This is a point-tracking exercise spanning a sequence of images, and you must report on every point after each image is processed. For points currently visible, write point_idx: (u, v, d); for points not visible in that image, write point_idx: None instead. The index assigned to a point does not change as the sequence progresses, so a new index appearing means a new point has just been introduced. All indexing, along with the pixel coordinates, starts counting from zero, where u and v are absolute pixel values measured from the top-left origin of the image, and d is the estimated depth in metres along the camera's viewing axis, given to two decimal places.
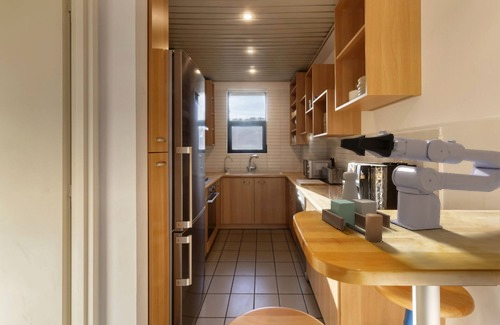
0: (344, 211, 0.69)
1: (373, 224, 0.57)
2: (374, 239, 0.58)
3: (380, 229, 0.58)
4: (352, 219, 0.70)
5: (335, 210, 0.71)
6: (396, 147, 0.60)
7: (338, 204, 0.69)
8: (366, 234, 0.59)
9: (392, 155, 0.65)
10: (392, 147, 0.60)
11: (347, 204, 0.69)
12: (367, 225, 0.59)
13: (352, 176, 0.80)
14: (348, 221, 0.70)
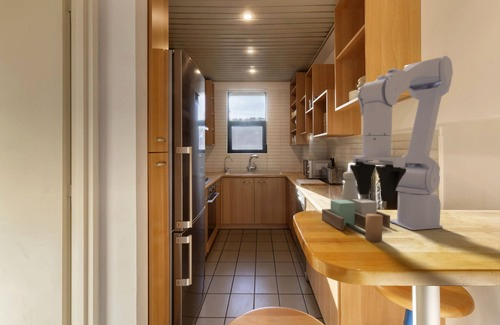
0: (344, 211, 0.69)
1: (373, 224, 0.57)
2: (374, 239, 0.58)
3: (380, 229, 0.58)
4: (352, 219, 0.70)
5: (335, 210, 0.71)
6: (401, 167, 0.51)
7: (338, 204, 0.69)
8: (366, 234, 0.59)
9: (390, 148, 0.57)
10: (398, 168, 0.52)
11: (347, 204, 0.69)
12: (367, 225, 0.59)
13: (352, 176, 0.80)
14: (348, 221, 0.70)
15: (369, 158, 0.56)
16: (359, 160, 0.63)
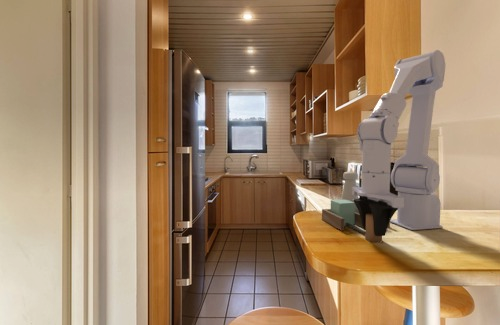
0: (344, 211, 0.69)
1: (373, 224, 0.57)
2: (374, 239, 0.58)
3: None
4: (352, 219, 0.70)
5: (335, 210, 0.71)
6: None
7: (338, 204, 0.69)
8: (366, 234, 0.59)
9: (389, 185, 0.57)
10: (390, 205, 0.55)
11: (347, 204, 0.69)
12: (367, 225, 0.59)
13: (353, 176, 0.80)
14: (348, 221, 0.70)
15: (368, 195, 0.57)
16: None
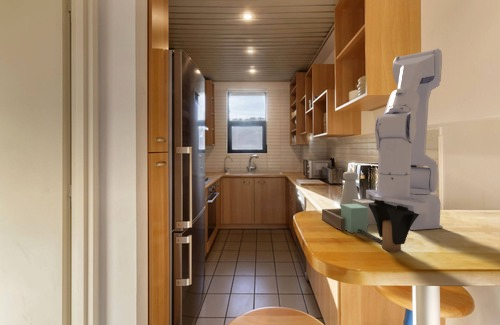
0: (356, 216, 0.64)
1: (391, 232, 0.52)
2: (392, 248, 0.52)
3: None
4: (365, 225, 0.65)
5: (347, 215, 0.65)
6: None
7: (350, 209, 0.64)
8: (383, 243, 0.54)
9: (409, 188, 0.52)
10: (411, 211, 0.49)
11: (359, 209, 0.64)
12: (384, 233, 0.53)
13: (352, 176, 0.80)
14: (360, 227, 0.64)
15: (386, 199, 0.51)
16: None
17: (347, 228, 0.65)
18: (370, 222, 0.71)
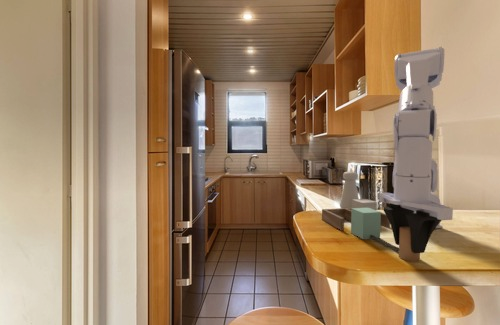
0: (368, 222, 0.59)
1: (410, 239, 0.48)
2: (411, 258, 0.48)
3: None
4: (377, 231, 0.60)
5: (358, 220, 0.61)
6: None
7: (361, 213, 0.60)
8: (400, 251, 0.49)
9: None
10: (433, 217, 0.45)
11: (372, 213, 0.60)
12: (402, 241, 0.49)
13: (352, 176, 0.80)
14: (373, 233, 0.60)
15: (404, 203, 0.47)
16: (388, 200, 0.54)
17: (358, 234, 0.61)
18: None
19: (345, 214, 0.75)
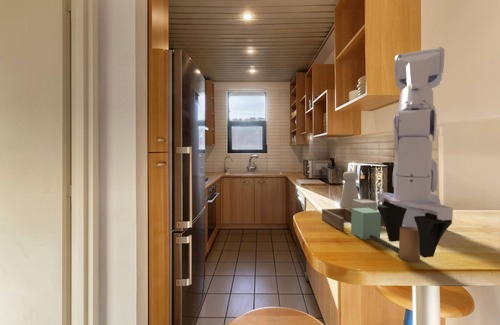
0: (368, 222, 0.59)
1: (410, 239, 0.48)
2: (411, 258, 0.48)
3: (418, 246, 0.48)
4: (378, 231, 0.60)
5: (358, 220, 0.61)
6: None
7: (362, 214, 0.59)
8: (400, 251, 0.49)
9: None
10: (443, 220, 0.43)
11: (372, 214, 0.59)
12: (402, 241, 0.49)
13: (352, 176, 0.80)
14: (373, 233, 0.60)
15: (404, 203, 0.47)
16: (388, 200, 0.54)
17: (358, 234, 0.61)
18: None
19: (345, 214, 0.75)
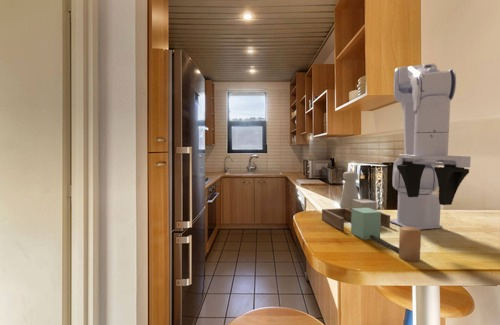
0: (368, 222, 0.59)
1: (410, 239, 0.48)
2: (411, 258, 0.48)
3: (418, 246, 0.48)
4: (378, 231, 0.60)
5: (358, 220, 0.61)
6: None
7: (362, 214, 0.59)
8: (400, 251, 0.49)
9: None
10: (461, 168, 0.47)
11: (372, 214, 0.59)
12: (402, 241, 0.49)
13: (352, 176, 0.80)
14: (373, 233, 0.60)
15: (424, 157, 0.51)
16: (407, 160, 0.58)
17: (358, 234, 0.61)
18: None
19: (345, 214, 0.75)
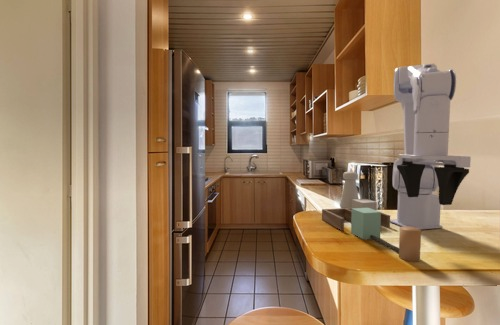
0: (368, 222, 0.59)
1: (410, 239, 0.48)
2: (411, 258, 0.48)
3: (418, 246, 0.48)
4: (378, 231, 0.60)
5: (358, 220, 0.61)
6: None
7: (362, 214, 0.59)
8: (400, 251, 0.49)
9: None
10: (461, 168, 0.47)
11: (372, 214, 0.59)
12: (402, 241, 0.49)
13: (352, 176, 0.80)
14: (373, 233, 0.60)
15: (424, 157, 0.51)
16: (407, 160, 0.58)
17: (358, 234, 0.61)
18: None
19: (345, 214, 0.75)
